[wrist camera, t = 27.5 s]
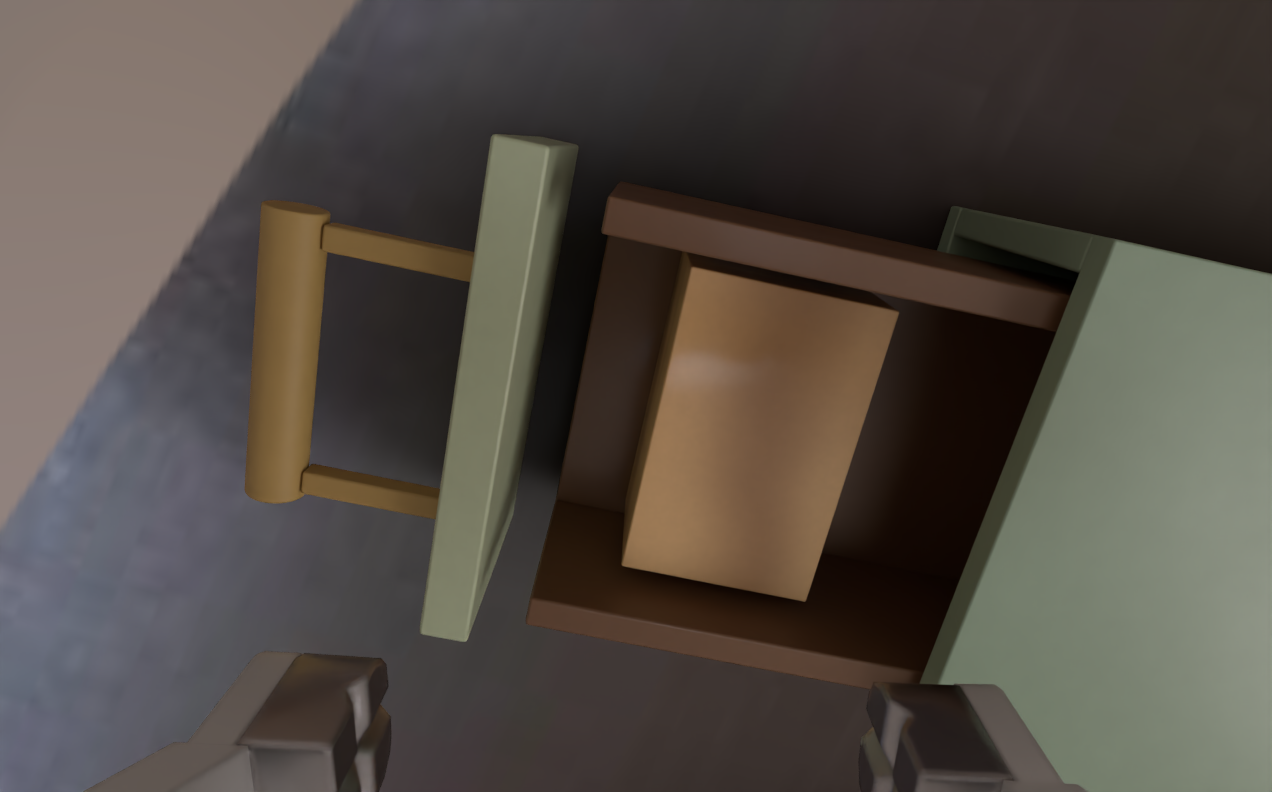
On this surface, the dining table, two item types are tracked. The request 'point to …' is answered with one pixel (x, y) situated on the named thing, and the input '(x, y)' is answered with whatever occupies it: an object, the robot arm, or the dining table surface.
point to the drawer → (616, 404)
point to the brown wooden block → (751, 425)
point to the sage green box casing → (1130, 521)
